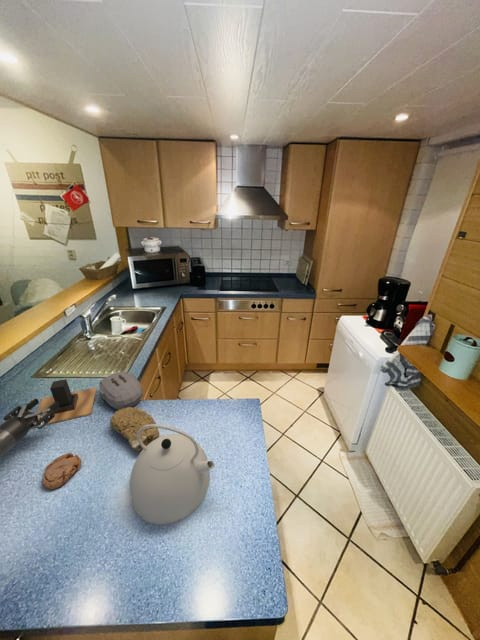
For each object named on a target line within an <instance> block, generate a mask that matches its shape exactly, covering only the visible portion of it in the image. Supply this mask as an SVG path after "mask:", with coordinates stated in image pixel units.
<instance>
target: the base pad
mask: <svg viewBox="0 0 480 640" xmlns="http://www.w3.org/2000/svg"><path fill="white" fill-rule="evenodd" d="M70 392H71V391H70ZM71 395H72V397H73V401H72V404H71V405H67V406H63V407H58V408H57V409H56V410H55V411H54V415H55V417H54V418H53V419H52V420H51V421H49V422H48V423H47V424H46V425H45V426H48V425H53V424H57V423H61V422H65V421H69V420H75V419H78V418H82V417H87V416H91V415H92V414H93V409H94V405H95V400H96V395H97V387H91V388H87V389H82V390H77V391H76V390H75V391H72V392H71ZM54 402H55V400H54V398H53V395H52V396H47V397H43V398H42V399H41V400H40V402H39V404H38V407H37V409H36V412H38V411H43V410H46V409H48V407H50V406H51V405H52V404H53V403H54ZM46 414H47V413H44V414H43V415H46ZM37 416H38V419H39V418H40V415H37ZM49 417H50V416H49ZM49 417H48V418H49ZM36 428H37V427H36V426H34V427H32V428H30V429H29V430H31V429H36Z"/></svg>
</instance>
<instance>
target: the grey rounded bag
mask: <svg viewBox="0 0 480 640" xmlns="http://www.w3.org/2000/svg"><path fill="white" fill-rule="evenodd" d="M98 384H99V389H98V391H99V392H98V393H99V395H100V397H101V398H102V400H105V402H106V403H107V404H108V405H109V406H110V407H112V408H113V409H116V411H118V410H120V409H123V408H127V407H132V408H133V407H134V406H136V405H137V404H139V402H141V400H142V397H143V396H144V390H143V388H142V385H141V383H140V381H139V379H138V378H137V376H136V375H135V374H133V373H130V372H126V371H123V370H122V371H118V372H114V373H112V374H110V375H108V376H106V377H104V378H103V379H101V380H100V381H99V383H98Z"/></svg>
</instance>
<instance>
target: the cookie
mask: <svg viewBox="0 0 480 640" xmlns="http://www.w3.org/2000/svg"><path fill="white" fill-rule="evenodd" d="M81 467H82V459H81V457H80V456H79V455H78V454H75V455H74V453H73V452H67V453H64V454H63V455H60V456H58V457H56V458H54V459H53V460H52V461H51V462H49V464H47V465H46V466H45V468H44V473H43V476H42V484H43V486H44V488H45V489H46V490H55V489H58V488H61V487H62V486H63V485H64V484H65V483H68V482H69V481H70V479H71V478H72V477H73V475H74V474H75V473H76V472H77V471H79V470H80V469H81Z"/></svg>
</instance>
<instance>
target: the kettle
mask: <svg viewBox="0 0 480 640" xmlns="http://www.w3.org/2000/svg"><path fill="white" fill-rule="evenodd" d="M146 428H158V429H162V430H166V431H171V432H174V433H167V434H164V435H160V436H159V438H157V439H155V440H153V441H152V442H151V443H149V444H148V445H147V446H145V445H144V444H143V443H142V441H141V439H140V433H141V431H142V430H143V429H146ZM137 440H138V442H139V444H140V446H141V447H142V448H143V449H141V452H140V453H139V454H138V456H137V458H136V459H135V462H134V464H133V466H132V468H131V469H132V470H131V473H130V478H129V491H130V497H131V502H132V506H133V508H134V511H135V512H136V514H137V515H138V516H139V517H140V518H141V519H143V520H144V521H146V522H148V523H151V524H154V525H170V524H174V523H176V522H179V521H182V520H183V519H185V518H186V517H188V516H189V515H191V514H192V513H193V512H194V511H195V510H197V508H198V507H199V506H200V505H201V503H202V502H203V500H204V499H205V497H206V495H207V492H208V491H209V490H208V489H209V487H210V481H211V473H210V470H213V469H215V466H216V465H215V463H214V461H212V460H208V458H207V454H206V452H205V450H204V449H203V447H202V446H201V444H199V442H197V441H196V439H195V438H193V436H191V435H190V434H188V433H187V432H185V431H183V430H181V429H178V428H175V427H172V426H168V425H163V424H157V423H156V424H149V425H145V426H143V427H141V428H140V429H139V430H138V432H137Z"/></svg>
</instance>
